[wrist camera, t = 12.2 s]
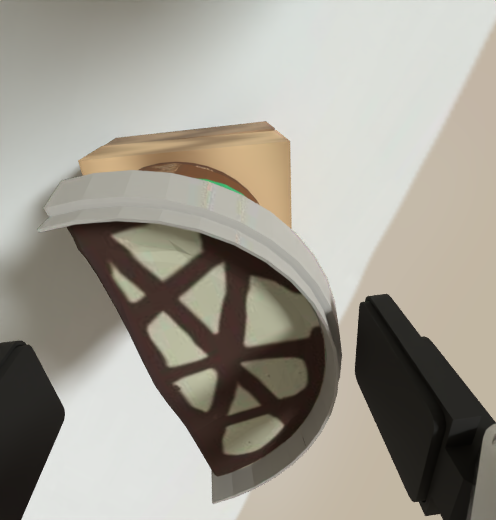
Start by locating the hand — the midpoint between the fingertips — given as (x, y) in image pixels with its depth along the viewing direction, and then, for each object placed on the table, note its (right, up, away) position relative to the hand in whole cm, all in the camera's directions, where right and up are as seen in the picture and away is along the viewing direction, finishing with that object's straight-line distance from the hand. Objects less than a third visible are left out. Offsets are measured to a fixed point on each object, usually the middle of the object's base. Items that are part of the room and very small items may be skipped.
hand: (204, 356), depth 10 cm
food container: (+1, +4, +9) cm, 10 cm away
